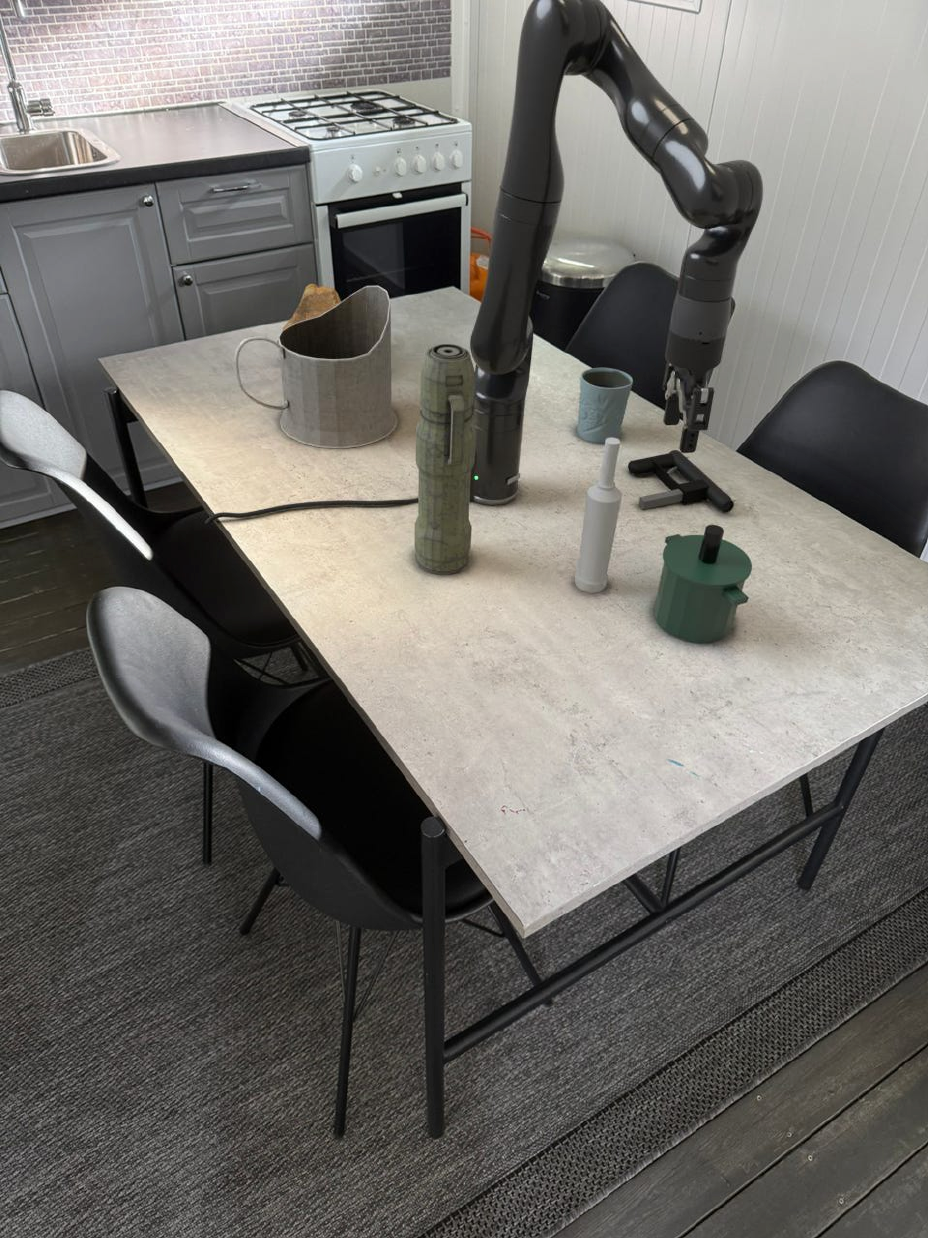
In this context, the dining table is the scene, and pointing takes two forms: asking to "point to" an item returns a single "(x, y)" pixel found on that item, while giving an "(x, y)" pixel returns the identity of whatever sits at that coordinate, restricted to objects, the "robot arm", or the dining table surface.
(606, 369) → the blue embossed cup
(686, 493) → the black staple gun
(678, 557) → the lid
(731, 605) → the pot
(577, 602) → the dining table surface
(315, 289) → the rough brown rock
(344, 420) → the pitcher
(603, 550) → the bottle
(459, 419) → the thermos
